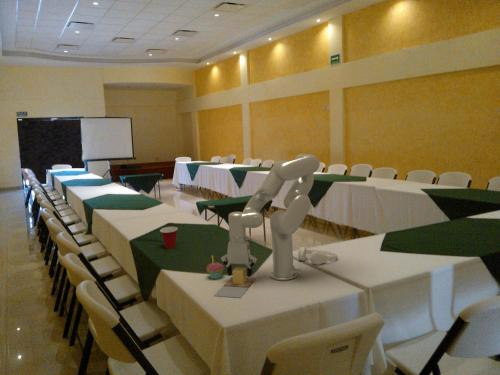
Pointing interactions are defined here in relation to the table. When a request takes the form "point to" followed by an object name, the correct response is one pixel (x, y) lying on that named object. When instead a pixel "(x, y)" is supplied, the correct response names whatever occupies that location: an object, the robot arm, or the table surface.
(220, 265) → the cupcake
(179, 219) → the table surface
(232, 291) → the grey mat
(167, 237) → the plastic cup
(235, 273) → the mustard block
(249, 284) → the walnut mat
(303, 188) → the robot arm
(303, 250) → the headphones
